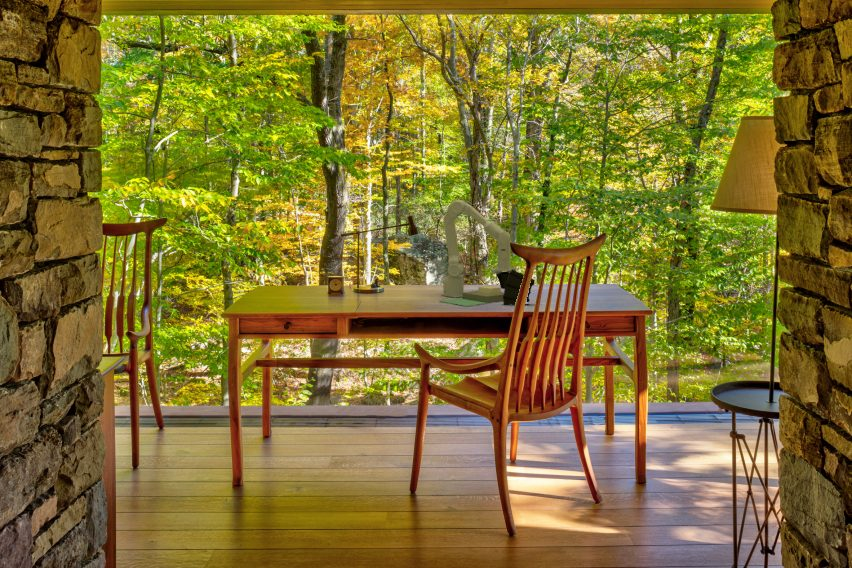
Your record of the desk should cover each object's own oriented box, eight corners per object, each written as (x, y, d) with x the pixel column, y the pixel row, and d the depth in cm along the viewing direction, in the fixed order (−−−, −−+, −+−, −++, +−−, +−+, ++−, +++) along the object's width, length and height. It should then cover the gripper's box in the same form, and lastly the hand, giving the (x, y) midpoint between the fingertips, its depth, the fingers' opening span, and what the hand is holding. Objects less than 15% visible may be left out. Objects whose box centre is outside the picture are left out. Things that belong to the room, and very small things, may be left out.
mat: (439, 301, 347) (439, 300, 347) (459, 299, 354) (459, 298, 354) (466, 306, 333) (466, 305, 333) (487, 303, 341) (487, 302, 341)
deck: (462, 299, 354) (462, 292, 354) (485, 296, 363) (485, 289, 363) (487, 303, 342) (487, 296, 342) (510, 300, 351) (510, 293, 350)
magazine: (495, 299, 341) (511, 268, 339) (523, 313, 341) (539, 282, 338) (495, 301, 338) (511, 269, 335) (523, 314, 337) (539, 283, 335)
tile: (478, 292, 355) (478, 286, 354) (488, 291, 358) (488, 285, 358) (490, 294, 349) (490, 288, 348) (500, 292, 352) (500, 287, 352)
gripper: (498, 260, 350) (498, 291, 351) (521, 258, 359) (521, 288, 360) (487, 259, 355) (487, 289, 357) (510, 257, 364) (509, 286, 366)
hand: (503, 288), depth 359 cm, fingers closed
